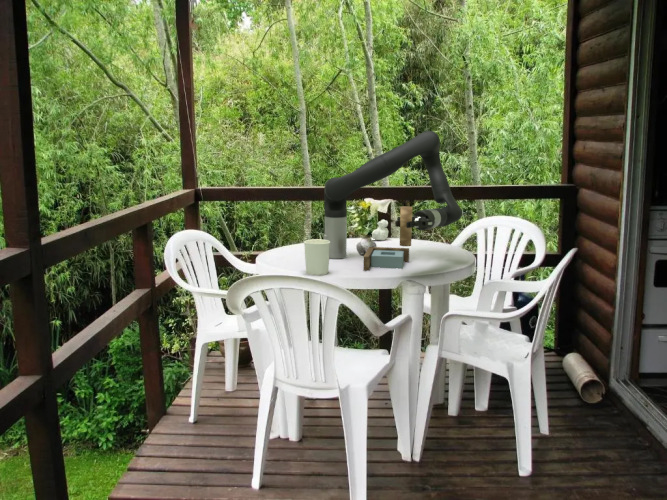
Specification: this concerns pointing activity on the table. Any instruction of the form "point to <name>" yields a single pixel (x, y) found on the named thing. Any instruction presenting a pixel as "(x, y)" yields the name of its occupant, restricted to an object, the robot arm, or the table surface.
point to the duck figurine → (381, 231)
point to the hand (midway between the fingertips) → (401, 224)
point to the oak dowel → (404, 231)
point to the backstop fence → (371, 249)
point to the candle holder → (317, 256)
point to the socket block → (387, 259)
